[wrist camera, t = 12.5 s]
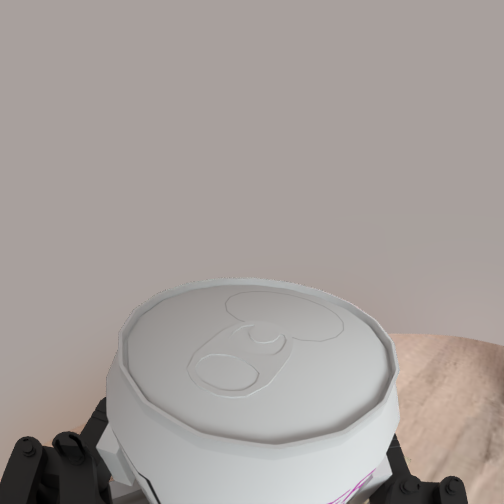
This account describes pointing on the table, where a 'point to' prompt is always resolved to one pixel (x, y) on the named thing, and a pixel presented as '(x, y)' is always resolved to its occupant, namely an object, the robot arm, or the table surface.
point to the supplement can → (252, 394)
